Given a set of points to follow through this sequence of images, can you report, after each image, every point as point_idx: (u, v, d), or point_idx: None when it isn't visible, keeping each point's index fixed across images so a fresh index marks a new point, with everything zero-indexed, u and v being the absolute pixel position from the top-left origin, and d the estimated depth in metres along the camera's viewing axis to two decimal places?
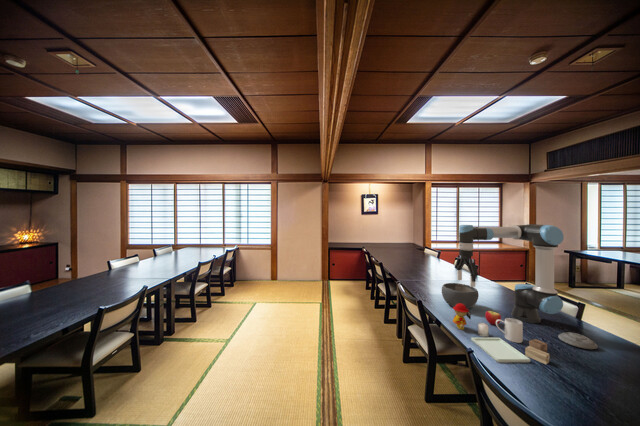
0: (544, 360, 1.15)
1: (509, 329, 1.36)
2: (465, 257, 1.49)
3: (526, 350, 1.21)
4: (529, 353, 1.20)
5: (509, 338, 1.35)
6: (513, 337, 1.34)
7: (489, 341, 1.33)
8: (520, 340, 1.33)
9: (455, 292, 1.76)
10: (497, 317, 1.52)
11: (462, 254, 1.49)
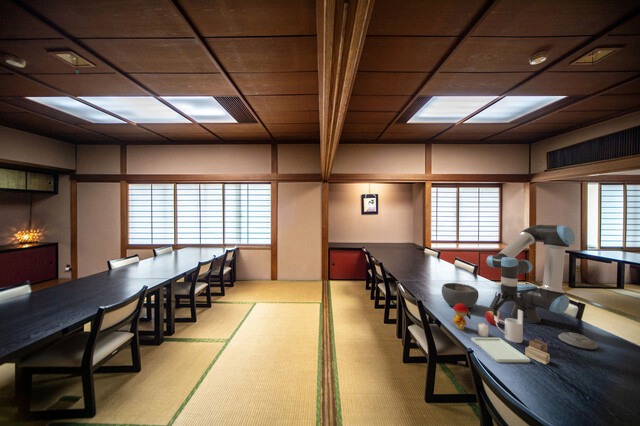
0: (543, 360, 1.15)
1: (509, 329, 1.36)
2: None
3: (526, 350, 1.21)
4: (529, 352, 1.20)
5: (509, 338, 1.35)
6: (513, 337, 1.34)
7: (489, 341, 1.33)
8: (520, 340, 1.33)
9: (455, 292, 1.76)
10: None
11: None
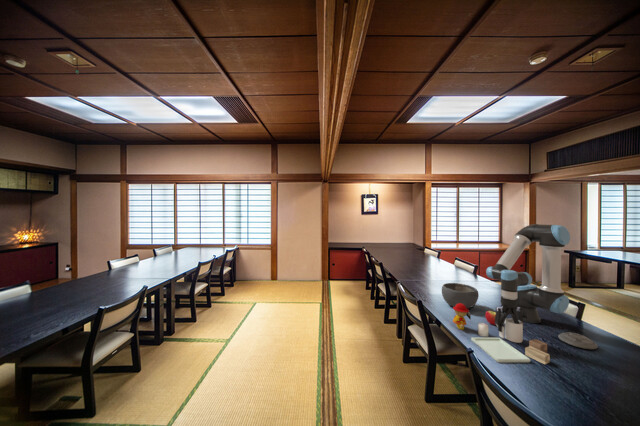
0: (543, 360, 1.15)
1: (509, 329, 1.36)
2: None
3: (526, 349, 1.21)
4: (529, 352, 1.20)
5: (509, 338, 1.35)
6: (513, 337, 1.34)
7: (489, 341, 1.33)
8: (520, 340, 1.33)
9: (455, 292, 1.76)
10: None
11: None
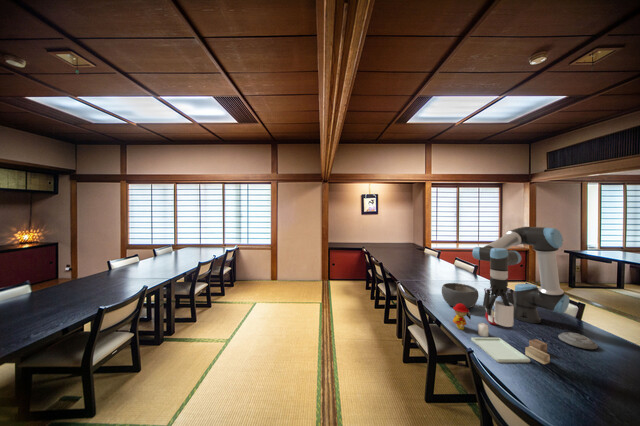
0: (542, 360, 1.15)
1: (499, 311, 1.24)
2: None
3: (526, 349, 1.22)
4: (529, 352, 1.20)
5: (498, 322, 1.23)
6: (502, 321, 1.22)
7: (489, 341, 1.33)
8: (511, 324, 1.21)
9: (455, 292, 1.76)
10: None
11: None
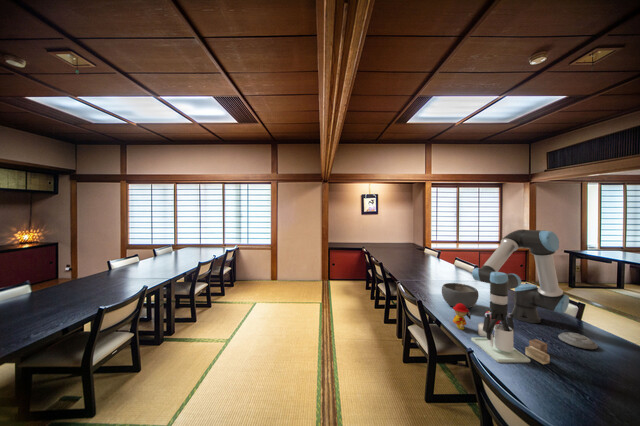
0: (541, 360, 1.15)
1: (499, 336, 1.24)
2: None
3: (526, 349, 1.22)
4: (529, 352, 1.20)
5: (498, 346, 1.23)
6: (502, 346, 1.22)
7: None
8: (510, 349, 1.21)
9: (455, 292, 1.76)
10: None
11: None
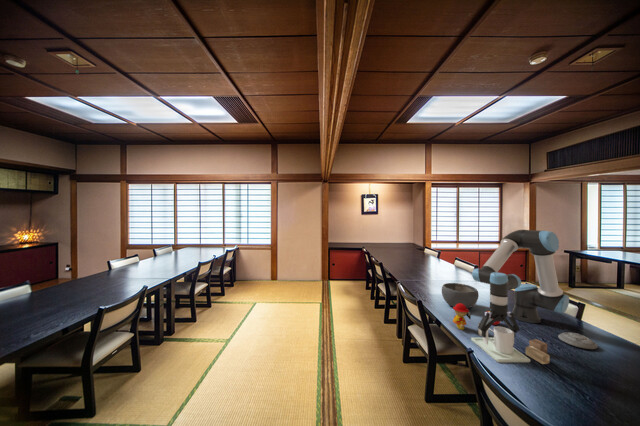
0: (541, 360, 1.15)
1: (498, 338, 1.24)
2: None
3: (526, 349, 1.22)
4: (529, 351, 1.21)
5: (498, 348, 1.24)
6: (502, 348, 1.22)
7: (489, 341, 1.33)
8: (510, 351, 1.21)
9: (455, 292, 1.76)
10: None
11: None
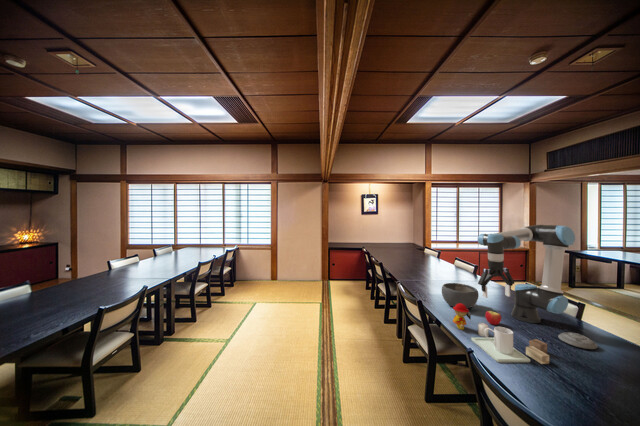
0: (540, 360, 1.15)
1: (498, 338, 1.24)
2: None
3: (526, 349, 1.22)
4: (529, 351, 1.21)
5: (498, 349, 1.24)
6: (502, 348, 1.22)
7: (489, 341, 1.33)
8: (510, 351, 1.21)
9: (455, 292, 1.76)
10: (497, 317, 1.52)
11: None
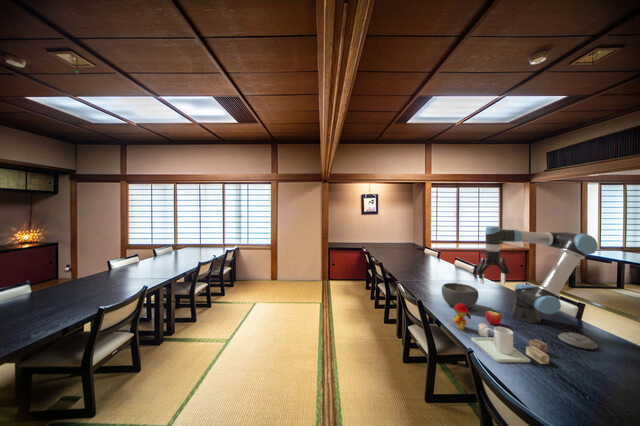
0: (539, 359, 1.15)
1: (498, 338, 1.24)
2: None
3: (526, 348, 1.22)
4: (529, 351, 1.21)
5: (498, 349, 1.24)
6: (502, 348, 1.22)
7: (489, 341, 1.33)
8: (510, 351, 1.21)
9: (455, 292, 1.76)
10: (497, 317, 1.52)
11: None
